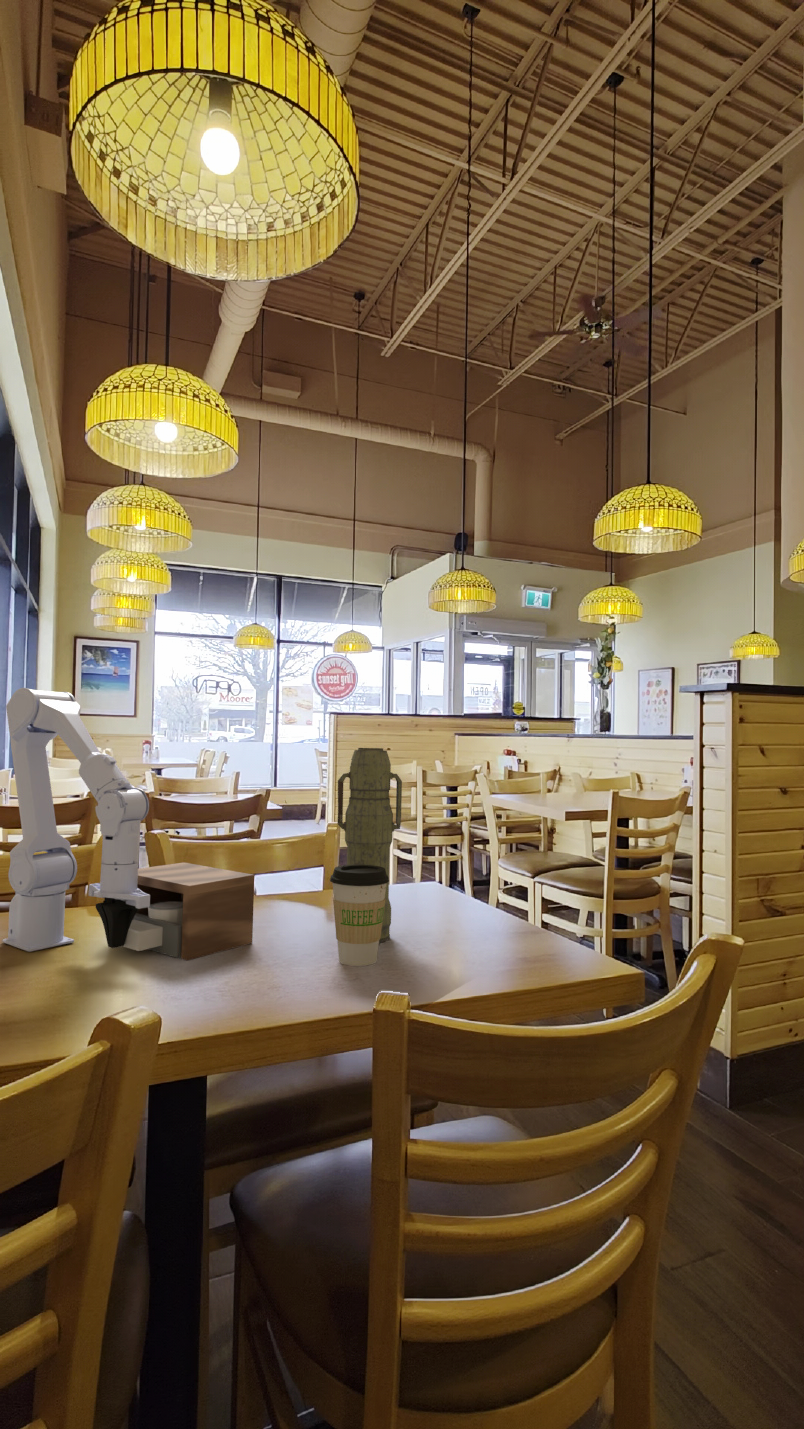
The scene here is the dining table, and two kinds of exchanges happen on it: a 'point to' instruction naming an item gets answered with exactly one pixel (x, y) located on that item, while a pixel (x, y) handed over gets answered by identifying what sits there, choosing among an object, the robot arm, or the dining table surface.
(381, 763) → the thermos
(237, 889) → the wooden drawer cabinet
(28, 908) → the robot arm
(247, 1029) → the dining table surface
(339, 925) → the coffee cup
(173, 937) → the shelf tray
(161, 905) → the white cup
